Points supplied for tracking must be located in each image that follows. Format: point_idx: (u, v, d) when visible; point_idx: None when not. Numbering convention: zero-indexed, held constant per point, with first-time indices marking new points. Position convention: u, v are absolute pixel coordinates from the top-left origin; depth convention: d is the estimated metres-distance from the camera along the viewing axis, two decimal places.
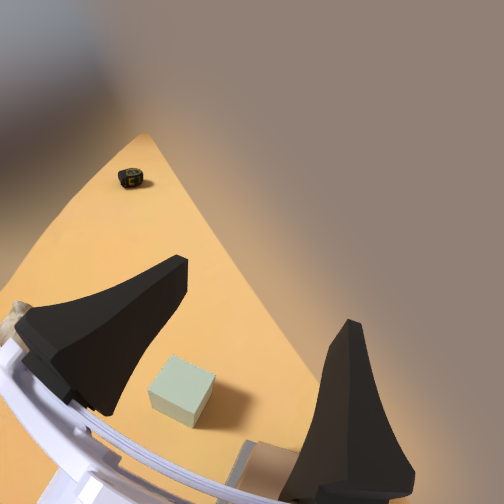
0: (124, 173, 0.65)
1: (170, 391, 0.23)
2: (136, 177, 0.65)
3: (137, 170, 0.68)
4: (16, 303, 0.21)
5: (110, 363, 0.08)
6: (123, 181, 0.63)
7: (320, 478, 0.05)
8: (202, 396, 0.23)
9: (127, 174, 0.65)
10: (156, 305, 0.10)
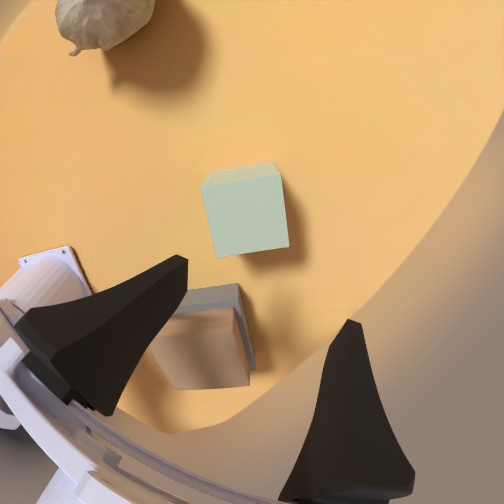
0: None
1: (221, 214, 0.18)
2: None
3: None
4: None
5: (110, 363, 0.08)
6: None
7: (320, 478, 0.05)
8: (246, 251, 0.19)
9: None
10: (156, 305, 0.10)
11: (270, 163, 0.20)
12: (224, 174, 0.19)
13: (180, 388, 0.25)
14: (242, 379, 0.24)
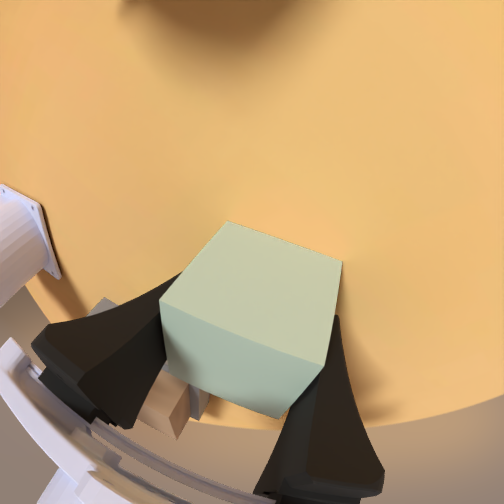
0: None
1: (188, 349, 0.09)
2: None
3: None
4: None
5: (133, 378, 0.08)
6: None
7: (285, 470, 0.06)
8: (213, 393, 0.10)
9: None
10: None
11: (335, 268, 0.10)
12: (237, 260, 0.10)
13: None
14: (170, 435, 0.19)
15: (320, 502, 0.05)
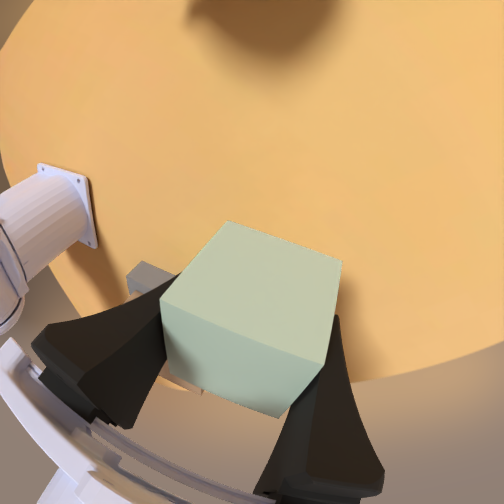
0: None
1: (189, 348, 0.09)
2: None
3: None
4: None
5: (133, 378, 0.08)
6: None
7: (285, 470, 0.06)
8: (213, 392, 0.10)
9: None
10: None
11: (335, 268, 0.10)
12: (237, 260, 0.10)
13: None
14: (196, 389, 0.23)
15: (320, 502, 0.05)
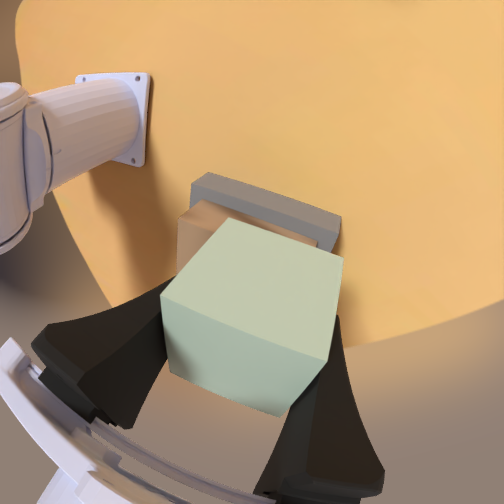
0: None
1: (189, 346, 0.09)
2: None
3: None
4: None
5: (133, 378, 0.08)
6: None
7: (286, 470, 0.06)
8: (214, 391, 0.10)
9: None
10: None
11: (337, 265, 0.10)
12: (239, 256, 0.10)
13: None
14: None
15: (320, 502, 0.05)
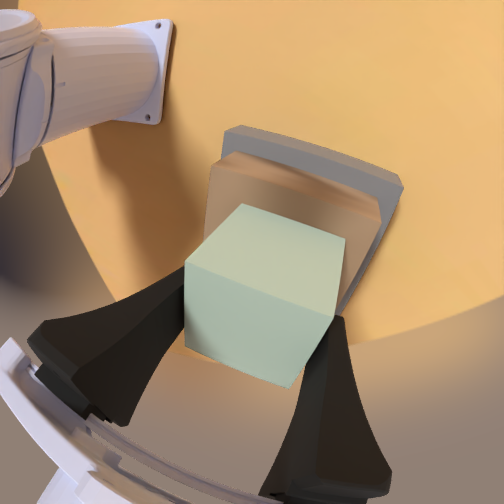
0: None
1: (207, 312, 0.10)
2: None
3: None
4: None
5: (128, 375, 0.08)
6: None
7: (293, 472, 0.05)
8: (227, 363, 0.11)
9: None
10: (174, 313, 0.10)
11: (339, 244, 0.11)
12: (253, 233, 0.11)
13: None
14: None
15: (327, 503, 0.05)
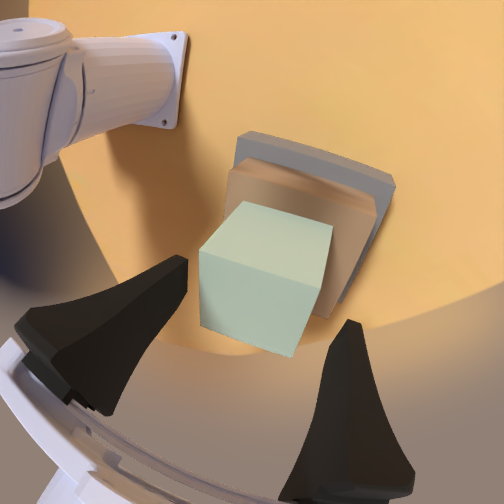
0: None
1: (219, 292, 0.12)
2: None
3: None
4: None
5: (110, 363, 0.08)
6: None
7: (320, 478, 0.05)
8: (237, 338, 0.14)
9: None
10: (156, 305, 0.10)
11: (327, 230, 0.13)
12: (253, 225, 0.13)
13: None
14: (326, 305, 0.17)
15: None
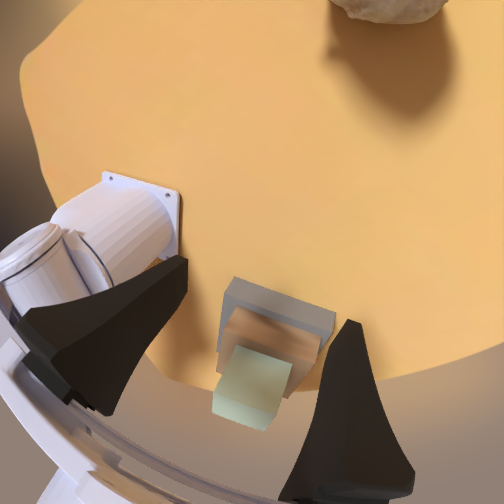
0: None
1: (223, 405, 0.20)
2: None
3: None
4: None
5: (110, 363, 0.08)
6: None
7: (320, 478, 0.05)
8: (233, 420, 0.21)
9: None
10: (156, 305, 0.10)
11: (288, 369, 0.21)
12: (242, 370, 0.21)
13: None
14: (286, 393, 0.25)
15: None
